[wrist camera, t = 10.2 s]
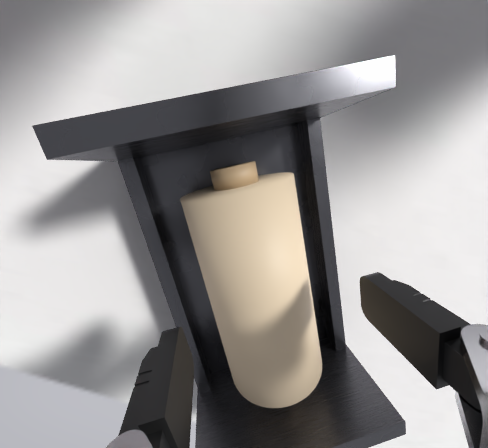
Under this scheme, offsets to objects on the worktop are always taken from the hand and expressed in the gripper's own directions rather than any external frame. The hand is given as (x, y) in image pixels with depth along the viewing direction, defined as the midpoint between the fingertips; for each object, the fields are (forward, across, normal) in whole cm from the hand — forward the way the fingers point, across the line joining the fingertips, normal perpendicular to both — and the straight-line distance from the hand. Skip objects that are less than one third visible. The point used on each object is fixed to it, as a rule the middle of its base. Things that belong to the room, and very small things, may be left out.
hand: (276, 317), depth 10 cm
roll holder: (+8, 0, +1) cm, 8 cm away
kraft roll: (+7, 0, +1) cm, 7 cm away
